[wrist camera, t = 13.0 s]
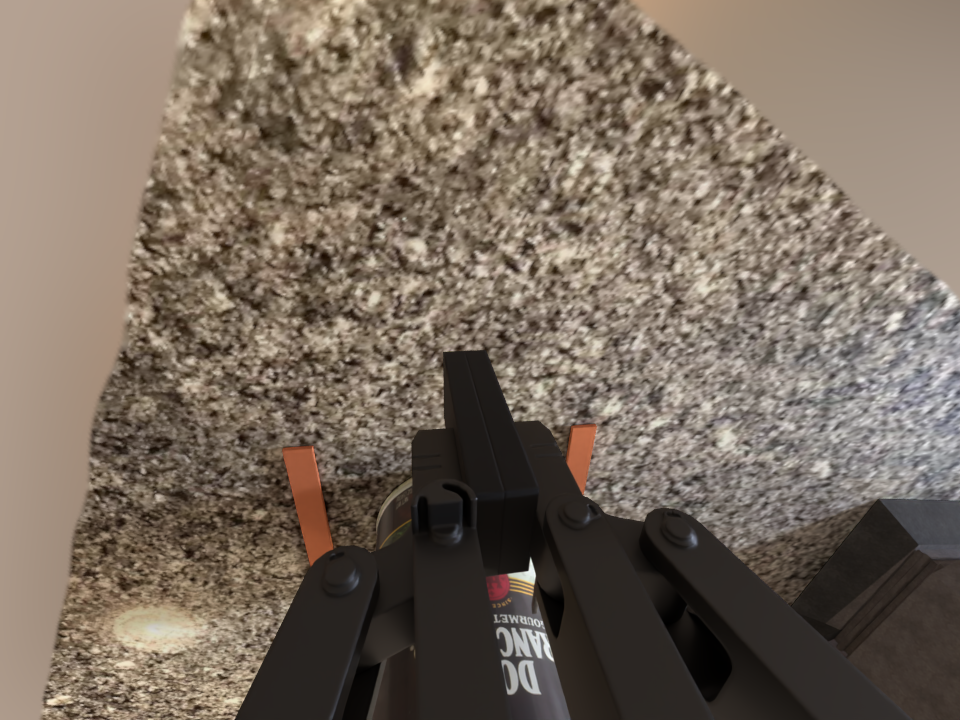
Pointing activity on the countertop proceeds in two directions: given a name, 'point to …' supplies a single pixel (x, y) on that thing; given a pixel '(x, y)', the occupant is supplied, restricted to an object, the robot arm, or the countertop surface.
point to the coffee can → (517, 629)
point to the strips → (312, 501)
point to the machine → (897, 603)
